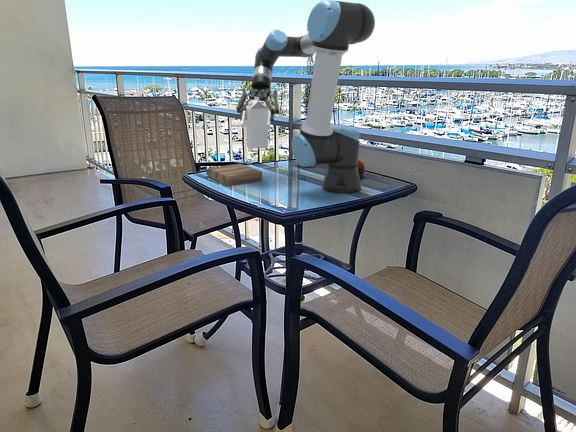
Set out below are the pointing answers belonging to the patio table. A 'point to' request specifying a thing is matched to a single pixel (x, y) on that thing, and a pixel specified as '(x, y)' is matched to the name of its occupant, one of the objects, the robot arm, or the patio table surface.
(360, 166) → the fruit
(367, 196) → the patio table surface
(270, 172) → the patio table surface
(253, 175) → the brown flat block
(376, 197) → the patio table surface
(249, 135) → the milk carton
